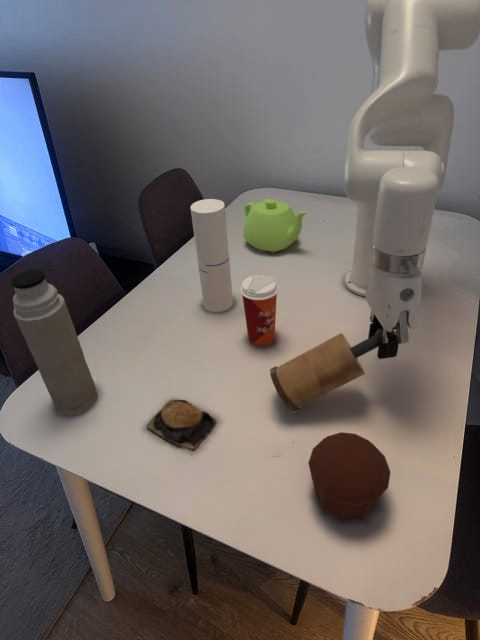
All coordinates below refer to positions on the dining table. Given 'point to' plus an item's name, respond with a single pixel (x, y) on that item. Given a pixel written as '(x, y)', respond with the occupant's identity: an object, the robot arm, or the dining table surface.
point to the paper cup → (260, 308)
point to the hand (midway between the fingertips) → (381, 348)
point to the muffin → (348, 475)
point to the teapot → (271, 225)
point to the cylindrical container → (212, 253)
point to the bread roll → (182, 424)
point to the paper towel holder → (321, 370)
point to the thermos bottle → (53, 342)
